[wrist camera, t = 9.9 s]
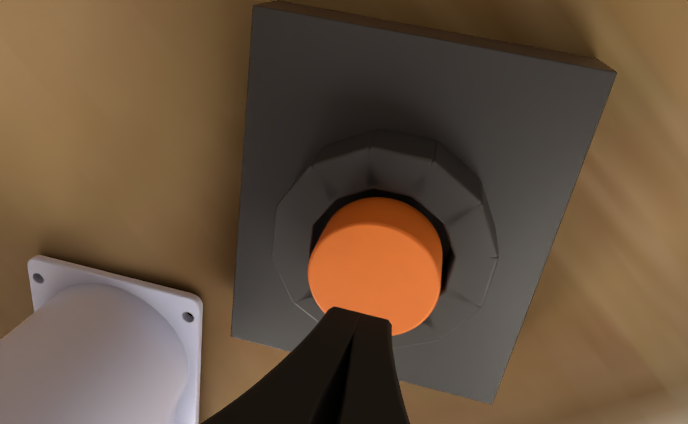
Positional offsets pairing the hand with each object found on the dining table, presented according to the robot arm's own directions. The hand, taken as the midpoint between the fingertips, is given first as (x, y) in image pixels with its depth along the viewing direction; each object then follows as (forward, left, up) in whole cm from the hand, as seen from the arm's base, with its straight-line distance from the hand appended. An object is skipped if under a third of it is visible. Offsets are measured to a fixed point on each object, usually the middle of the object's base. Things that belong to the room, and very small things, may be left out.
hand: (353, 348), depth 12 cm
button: (0, 0, -5) cm, 5 cm away
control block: (0, 0, -8) cm, 8 cm away
